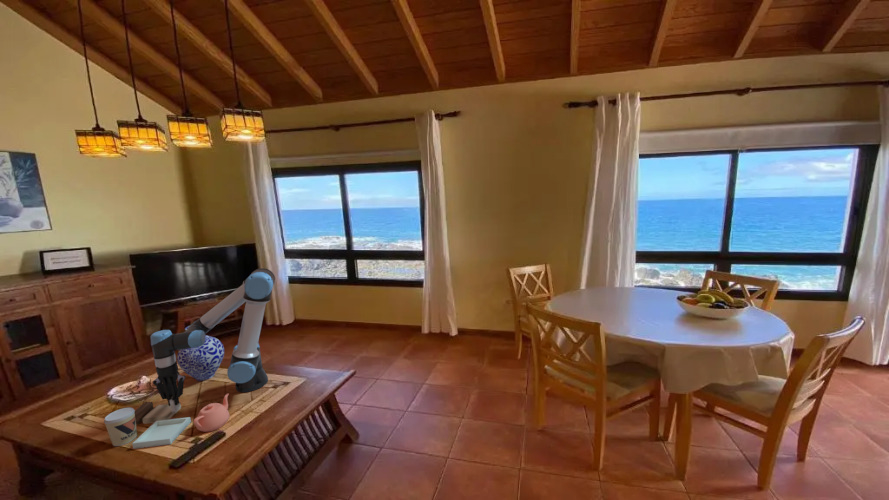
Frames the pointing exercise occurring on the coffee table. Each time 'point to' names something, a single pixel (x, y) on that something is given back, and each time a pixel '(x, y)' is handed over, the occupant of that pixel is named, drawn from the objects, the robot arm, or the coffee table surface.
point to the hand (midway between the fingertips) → (175, 411)
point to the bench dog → (143, 411)
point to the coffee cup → (121, 426)
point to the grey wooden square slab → (159, 414)
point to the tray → (162, 433)
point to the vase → (202, 359)
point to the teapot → (212, 416)
